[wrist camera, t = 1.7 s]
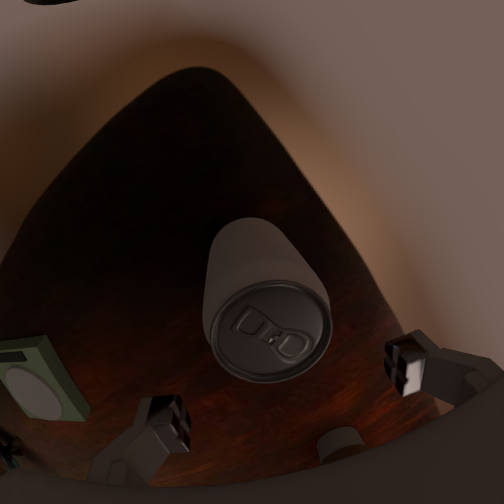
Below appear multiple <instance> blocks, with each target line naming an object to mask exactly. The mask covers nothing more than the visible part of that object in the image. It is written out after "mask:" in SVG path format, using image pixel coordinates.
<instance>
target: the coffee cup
mask: <svg viewBox="0 0 504 504" xmlns="http://www.w3.org/2000/svg"><path fill="white" fill-rule="evenodd" d="M317 449H318V454H319V458H320V463H321V465H324V464H328V463H331V462H334V461H338V460H341V459H344V458H347V457H350V456H353V455H356V454H358V453H361V452H364V451H366V450H368V448H367V447H366V445H365V444H364V442H363V440H362V439H361V437H360V435H359V434H358V432H357V430H356V429H355V428H353V427H349V426H345V427H339V428H336V429H333V430H331V431H329V432H327V433H326V434H324V435H323V436H322V437H321V438H320V439H319V440H318V442H317Z"/></svg>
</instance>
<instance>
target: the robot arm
mask: <svg viewBox="0 0 504 504" xmlns="http://www.w3.org/2000/svg"><path fill="white" fill-rule="evenodd" d="M385 352H386V353H387V356H386V357H385V359H384V367H385V371H386V374H387V376H388V377H389V379H390V380H392V381H394V382H396V385H395V387H396V389H397V390H398V391H399V393H400V394H401V396H402V397H404V396H407V395H409V394H412V393H414V392H416V391H418V390H421V391H423V392H425V393H427V394H429V395H432V396H434V397H436V398H439V399H441V400H443V401H445V402H448V403H450V404H452V405H454V406H455V407H454V409H453V410H451V411H449V412H447V413H446V414H444V415H442V416H440V417H438V418H436V419H435V420H433V421H431V422H429V423H427V424H425V425H423V426H421V427H419V428H417V429H415V430H413V431H411V432H409V433H407V434H405V435H402V436H400V437H398V438H396V439H393V440H391V441H389V442H386V443H384V444H382V445H379V446H377V447H374V448H372V449H369V450H366V451H364V452H361V453H358V454H356V455H353V456H350V457H347V458H344V459H341V460H338V461H334V462H331V463H328V464H324V465H321V466H317V467H314V468H310V469H306V470H302V471H298V472H294V473H289V474H285V475H280V476H275V477H270V478H265V479H259V480H253V481H246V482H239V483H231V484H222V485H211V486H196V487H149V486H148V485H147V484H148V482H149V481H150V480H151V478H152V477H153V476H154V474H155V473H156V472H157V470H158V469H159V468H160V466H161V465H162V464H163V462H164V461H165V460H166V458H167V457H168V456H169V453H180V452H189V449H190V437H189V436H188V433H189V432H190V431H191V419H190V415H189V413H188V411H187V409H186V408H185V407H183V406H182V400H181V398H180V396H179V395H177V394H175V395H165V396H154V397H143V398H142V399H141V400H140V402H139V406H138V409H137V413H136V416H135V420H134V423H133V426H131V427H128V428H127V429H126V430H125V431H124V432H123V433H122V434H121V435H120V436H118V437H117V438H116V439H115V440H114V441H113V442H112V443H111V444H109V445H108V446H107V447H106V448H105V449H104V450H103V451H102V452H100V453H99V454H98V455H97V456H96V457H95V458H93V460H92V463H91V466H90V469H89V472H88V476H87V479H86V481H81V480H75V479H69V478H64V477H59V476H55V475H50V474H46V473H42V472H38V471H35V470H31V469H28V468H24V467H15V468H13V469H11V470H9V471H8V472H6V473H5V474H3V475H2V476H0V504H504V371H503V370H502V369H501V368H500V367H499V366H498V365H497V364H495V363H494V362H493V361H492V360H491V359H489V358H485V357H481V356H476V355H472V354H467V353H463V352H459V351H454V350H450V349H446V348H442V349H440V348H439V347H438V346H437V345H436V344H434V343H433V342H432V341H431V340H430V339H429V338H428V337H427V336H426V335H425V334H424V333H422V331H421V330H415V331H413V332H411V333H408V334H407V335H404V336H401V337H399V338H396V339H394V340H391V341H389V342H386V345H385Z"/></svg>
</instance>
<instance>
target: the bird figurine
mask: <svg viewBox="0 0 504 504" xmlns="http://www.w3.org/2000/svg"><path fill="white" fill-rule="evenodd" d="M20 445H21V440H20V439H18V438H16V439H14V440H13V441H12V442H11V443H9V444H8V445H7V446H3V445H2V443H1V442H0V476H2V475H3V474H5V473H6V472H8V471H9V470H11V469H13V468H15V467H20V465H19V464H18V462H17V461H16V460H15V459H14V458H13V457H12V455H14V456H22V455H23V454H22V453H21V451H20V450H16V449H18V448H19V446H20Z"/></svg>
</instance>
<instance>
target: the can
mask: <svg viewBox="0 0 504 504" xmlns="http://www.w3.org/2000/svg"><path fill="white" fill-rule="evenodd" d="M202 320H203V328H204V333H205V336H206V338H207V340H208V342H209V344H210V346H211V350H212V352H213V355H214V357H215V359H216V360H217V362H218V363H219V364H220V365H221V366H222V367H223V368H224V369H225V370H226V371H227V372H228V373H230V374H231V375H233V376H235V377H237V378H239V379H242V380H245V381H248V382H253V383H262V384H268V383H277V382H282V381H286V380H289V379H292V378H294V377H296V376H299V375H300V374H302V373H304V372H305V371H307V370H308V369H310V368H311V367H312V366H313V365H314V364H315V363H317V361H318V360H319V359H320V358H321V357H322V355H323V354H324V353H325V351H326V349H327V347H328V345H329V343H330V340H331V336H332V330H333V322H332V316H331V313H330V303H329V298H328V295H327V292H326V290H325V288H324V286H323V284H322V282H321V281H320V280H319V278H318V277H317V275H316V274H315V273H314V271H313V270H312V269H311V267H310V266H309V265H308V264H307V262H306V261H305V260H304V259H303V257H302V256H301V255H300V254H299V252H298V251H297V250H296V249H295V247H294V246H293V245H292V244H291V242H290V241H289V240H288V239H287V238H286V236H285V235H284V234H283V233H282V232H281V231H280V230H279V229H278V228H277V227H276V226H275V225H273V224H272V223H270V222H268V221H266V220H263V219H259V218H242V219H238V220H235V221H233V222H231V223H229V224H227V225H226V226H225V227H223V228H222V229H221V230H220V231H219V233H218V234H217V235H216V237H215V238H214V240H213V243H212V245H211V249H210V254H209V260H208V267H207V275H206V283H205V291H204V300H203V313H202Z"/></svg>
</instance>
